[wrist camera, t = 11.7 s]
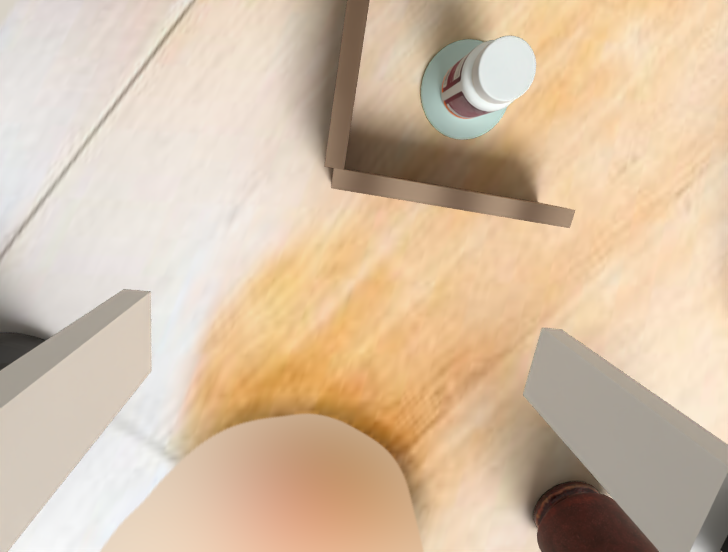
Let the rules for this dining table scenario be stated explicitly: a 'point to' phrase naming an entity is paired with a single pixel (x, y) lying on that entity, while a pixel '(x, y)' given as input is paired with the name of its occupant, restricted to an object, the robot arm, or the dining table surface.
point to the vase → (585, 522)
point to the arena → (398, 186)
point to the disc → (433, 100)
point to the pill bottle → (488, 77)
